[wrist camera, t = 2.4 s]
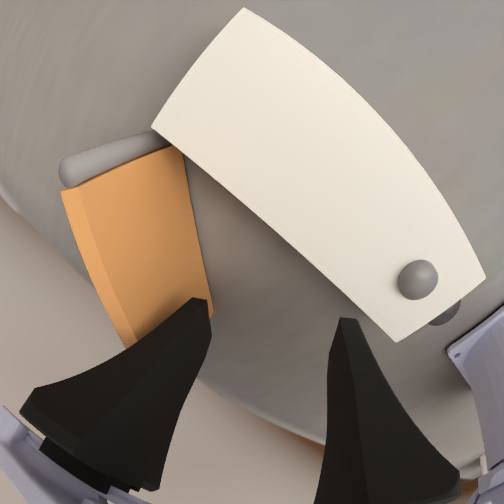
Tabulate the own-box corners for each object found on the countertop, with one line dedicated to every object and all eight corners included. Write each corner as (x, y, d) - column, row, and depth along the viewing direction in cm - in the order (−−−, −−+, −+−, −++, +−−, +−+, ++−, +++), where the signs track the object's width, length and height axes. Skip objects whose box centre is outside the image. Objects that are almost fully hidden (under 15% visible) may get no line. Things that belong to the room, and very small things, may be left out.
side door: (161, 127, 10) (53, 162, 5) (178, 124, 10) (71, 156, 5) (201, 309, 15) (156, 397, 10) (214, 311, 15) (172, 401, 10)
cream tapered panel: (470, 260, 10) (494, 295, 8) (395, 316, 13) (404, 358, 11) (259, 28, 8) (241, 4, 5) (182, 121, 10) (144, 130, 8)
